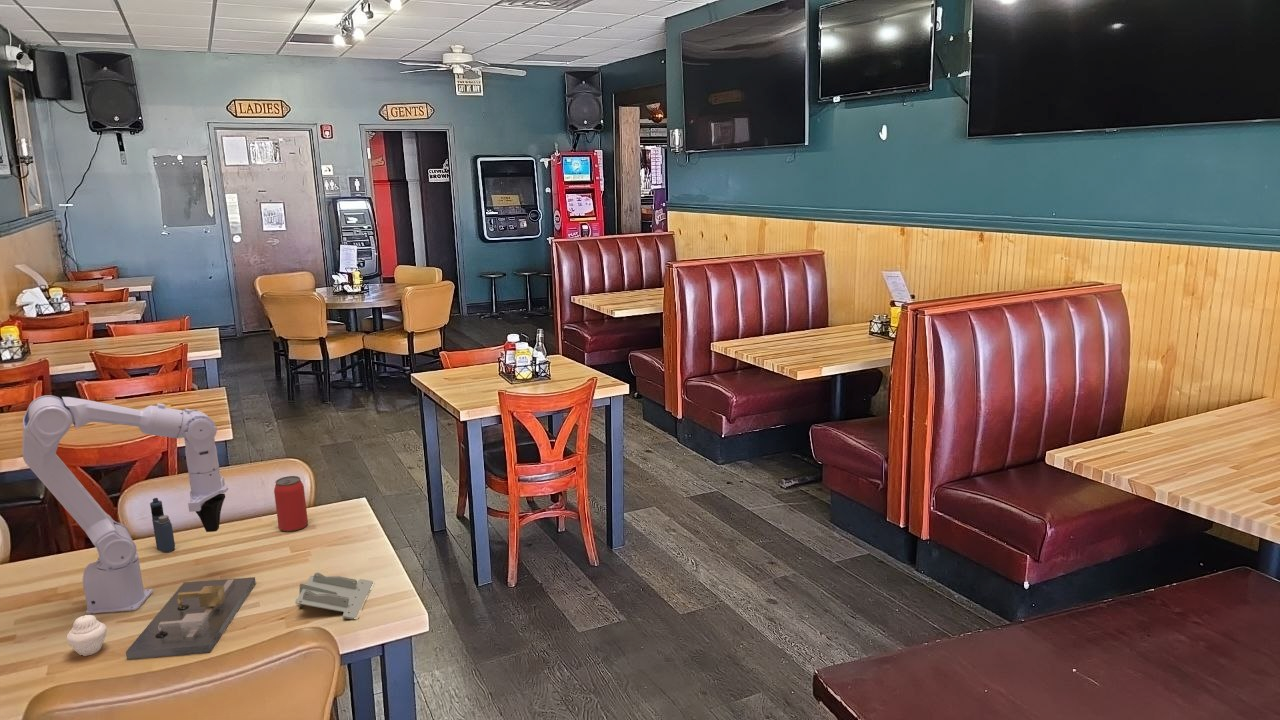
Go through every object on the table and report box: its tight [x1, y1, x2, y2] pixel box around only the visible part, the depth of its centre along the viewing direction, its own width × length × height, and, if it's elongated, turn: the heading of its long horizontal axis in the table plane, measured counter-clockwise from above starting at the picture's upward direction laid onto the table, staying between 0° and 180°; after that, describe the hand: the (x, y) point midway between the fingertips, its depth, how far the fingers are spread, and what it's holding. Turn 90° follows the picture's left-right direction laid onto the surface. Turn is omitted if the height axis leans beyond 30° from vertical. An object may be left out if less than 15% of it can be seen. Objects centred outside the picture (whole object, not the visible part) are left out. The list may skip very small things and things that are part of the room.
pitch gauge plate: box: [125, 576, 257, 660], centre depth 164 cm, size 14×26×4 cm, turn 7°
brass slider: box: [178, 585, 225, 609], centre depth 164 cm, size 8×3×3 cm, turn 97°
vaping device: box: [149, 497, 176, 553], centre depth 193 cm, size 3×5×12 cm, turn 54°
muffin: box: [66, 614, 108, 657], centre depth 153 cm, size 6×6×7 cm
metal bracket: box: [295, 571, 374, 620], centre depth 169 cm, size 14×6×15 cm
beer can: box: [273, 475, 309, 532], centre depth 204 cm, size 7×7×12 cm
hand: (212, 530), depth 179 cm, fingers closed
